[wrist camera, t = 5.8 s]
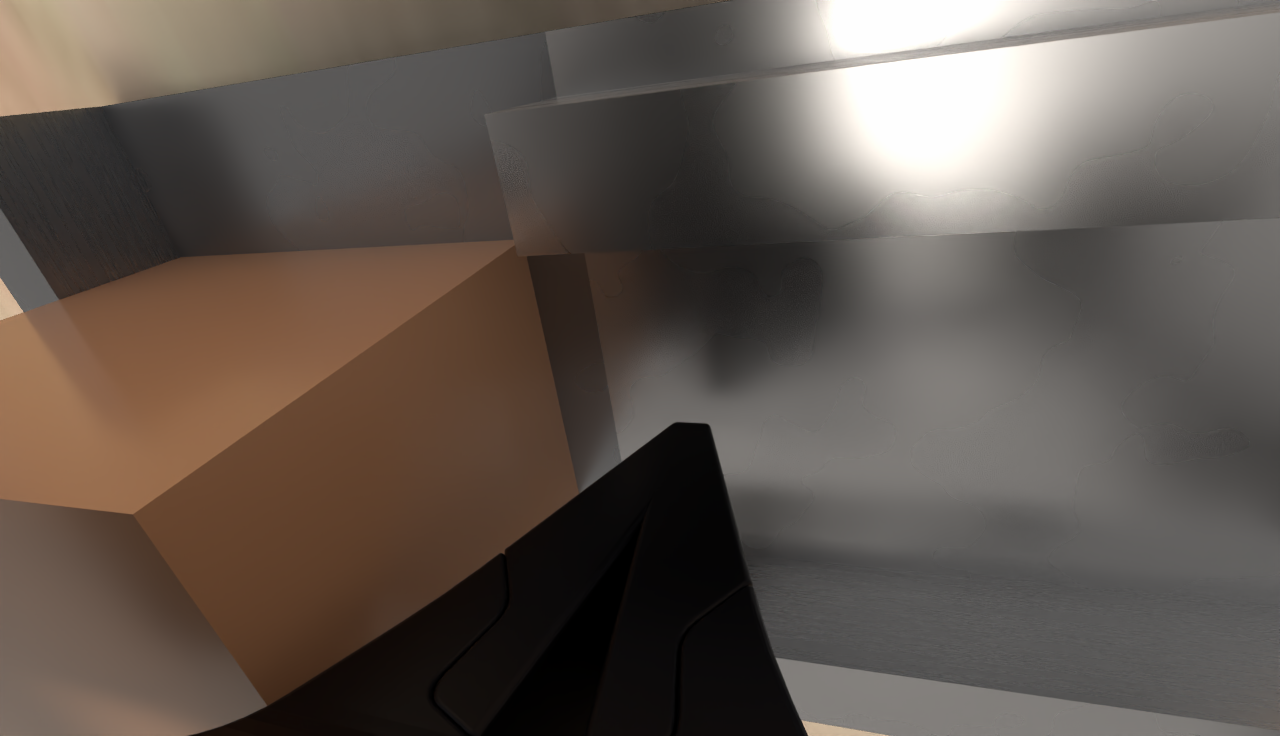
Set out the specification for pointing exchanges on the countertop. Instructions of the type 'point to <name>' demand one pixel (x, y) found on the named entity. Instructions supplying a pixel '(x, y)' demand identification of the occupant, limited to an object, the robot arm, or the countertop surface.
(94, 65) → the countertop surface
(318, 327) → the block
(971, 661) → the chute
